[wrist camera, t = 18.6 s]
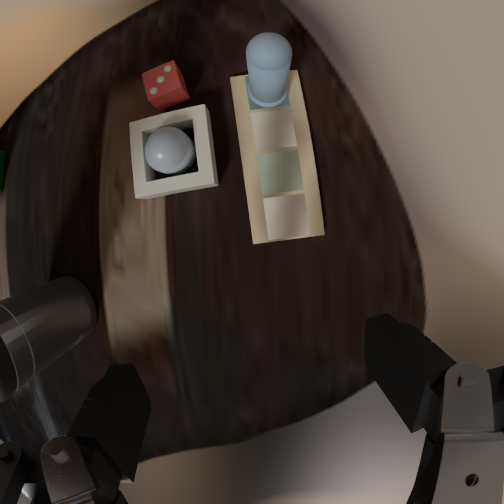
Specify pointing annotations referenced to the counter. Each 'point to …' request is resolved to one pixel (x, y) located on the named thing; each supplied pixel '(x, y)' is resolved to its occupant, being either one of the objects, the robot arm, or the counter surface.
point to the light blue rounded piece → (170, 151)
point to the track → (278, 165)
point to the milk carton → (2, 168)
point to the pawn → (268, 69)
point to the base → (203, 179)
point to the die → (165, 86)
